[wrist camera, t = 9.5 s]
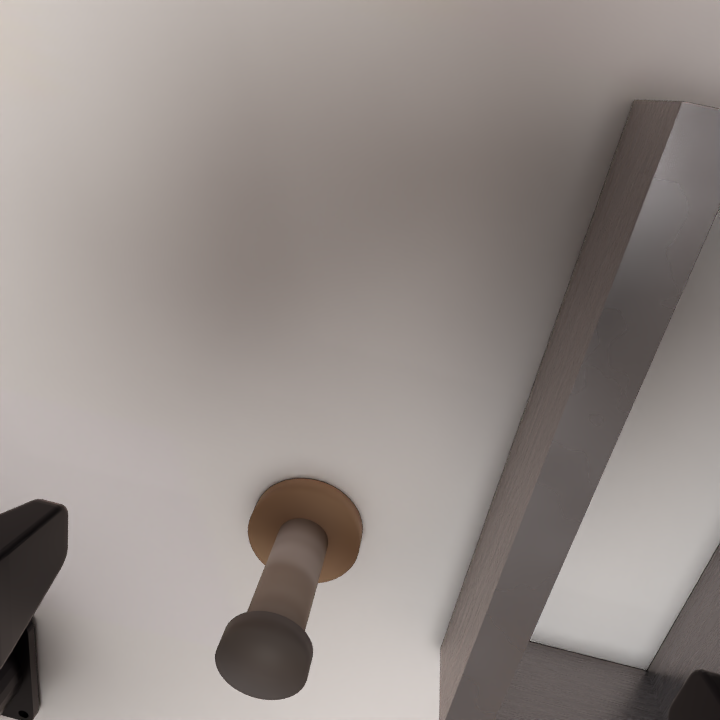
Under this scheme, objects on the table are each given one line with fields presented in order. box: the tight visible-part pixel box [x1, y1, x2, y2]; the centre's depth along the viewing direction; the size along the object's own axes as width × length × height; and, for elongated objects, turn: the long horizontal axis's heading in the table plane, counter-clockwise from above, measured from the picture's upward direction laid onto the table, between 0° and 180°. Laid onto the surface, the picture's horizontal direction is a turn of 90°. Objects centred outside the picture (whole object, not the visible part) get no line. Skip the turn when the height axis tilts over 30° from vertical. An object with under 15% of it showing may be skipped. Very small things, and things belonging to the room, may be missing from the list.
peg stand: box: [215, 478, 362, 700], centre depth 19 cm, size 4×4×6 cm
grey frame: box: [439, 100, 720, 720], centre depth 18 cm, size 20×9×4 cm, turn 169°
